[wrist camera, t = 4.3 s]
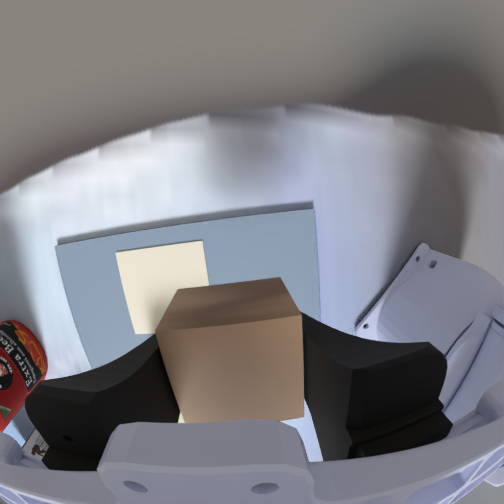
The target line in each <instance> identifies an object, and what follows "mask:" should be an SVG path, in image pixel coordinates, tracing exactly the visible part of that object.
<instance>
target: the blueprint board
mask: <svg viewBox="0 0 504 504" xmlns="http://www.w3.org/2000/svg"><path fill="white" fill-rule="evenodd" d="M55 250H56V255H57V260H58V265H59V269H60V273H61V277H62V281H63V285H64V289H65V293H66V296H67V300H68V303H69V307H70V310H71V313H72V316H73V320H74V323H75V326H76V329H77V331H78V334H79V337H80V340H81V343H82V345H83V348H84V350H85V353H86V356H87V358H88V361H89V363H90V365H91V368H92V369H95V368H97V367H100V366H102V365H105V364H107V363H109V362H111V361H113V360H115V359H117V358H119V357H121V356H123V355H124V354H126V353H128V352H129V351H131V350H132V349H134V348H135V347H137V346H138V345H140V344H141V343H143V342H144V341H145V340H147V339H148V338H149V337H151V336H152V335H153V334H155V330H156V328H157V326H158V324H159V322H160V320H161V319H162V317H163V315H164V313H165V311H166V309H167V307H168V306H169V304H170V302H171V300H172V298H173V296H174V295H175V293H176V291H177V289H182V288H192V287H201V286H210V285H218V284H227V283H235V282H244V281H252V280H260V279H267V278H275V277H281V279H282V281H283V283H284V284H285V286H286V288H287V290H288V291H289V293H290V295H291V297H292V298H293V300H294V302H295V304H296V306H297V307H298V309H299V311H301V312H303V313H305V314H307V315H308V316H310V317H312V318H314V319H316V320H317V321H319V322H320V298H319V274H318V256H317V241H316V227H315V215H314V209H303V210H293V211H284V212H275V213H266V214H257V215H248V216H240V217H232V218H224V219H216V220H209V221H201V222H194V223H187V224H180V225H173V226H166V227H160V228H153V229H147V230H140V231H134V232H128V233H122V234H116V235H110V236H104V237H99V238H93V239H87V240H82V241H76V242H71V243H66V244H61V245H56V246H55Z"/></svg>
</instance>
